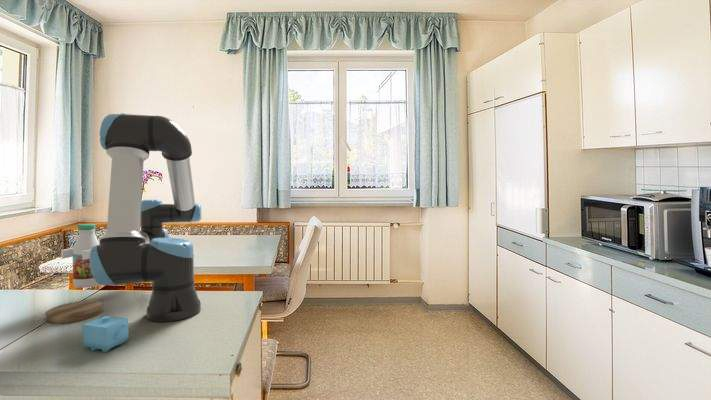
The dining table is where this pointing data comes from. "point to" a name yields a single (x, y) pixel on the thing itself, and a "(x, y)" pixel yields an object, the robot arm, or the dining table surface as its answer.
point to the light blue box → (105, 333)
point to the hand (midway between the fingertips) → (72, 254)
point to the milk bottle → (81, 267)
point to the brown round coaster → (74, 311)
